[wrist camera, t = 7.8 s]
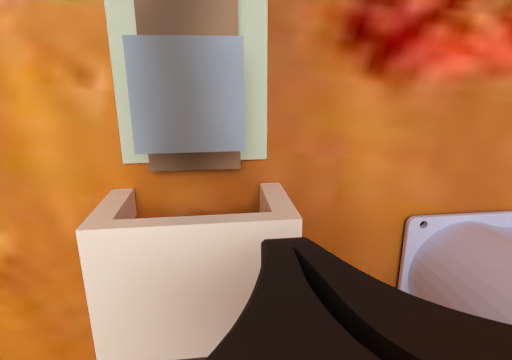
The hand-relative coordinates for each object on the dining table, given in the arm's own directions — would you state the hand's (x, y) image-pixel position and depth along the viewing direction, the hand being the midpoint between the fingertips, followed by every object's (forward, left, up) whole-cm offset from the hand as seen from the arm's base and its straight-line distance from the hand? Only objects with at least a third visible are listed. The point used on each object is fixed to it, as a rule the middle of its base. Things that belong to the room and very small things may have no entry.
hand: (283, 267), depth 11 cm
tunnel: (+3, +4, -10) cm, 12 cm away
